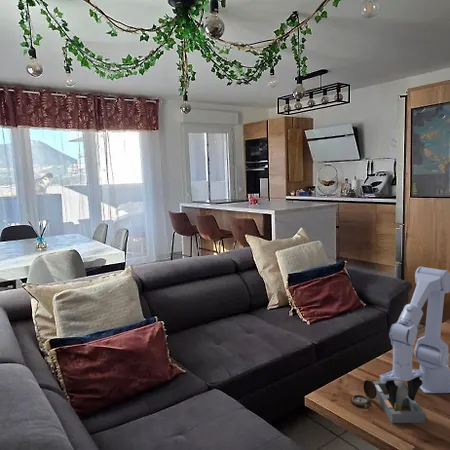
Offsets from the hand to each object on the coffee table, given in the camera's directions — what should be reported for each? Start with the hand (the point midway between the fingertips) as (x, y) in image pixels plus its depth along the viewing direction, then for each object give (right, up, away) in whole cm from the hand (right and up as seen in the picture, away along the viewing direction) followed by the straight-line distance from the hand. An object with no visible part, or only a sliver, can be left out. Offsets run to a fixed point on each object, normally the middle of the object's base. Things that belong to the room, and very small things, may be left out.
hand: (401, 400), depth 124 cm
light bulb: (0, -4, +2) cm, 5 cm away
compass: (-10, -4, +7) cm, 13 cm away
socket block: (0, -4, +5) cm, 6 cm away
